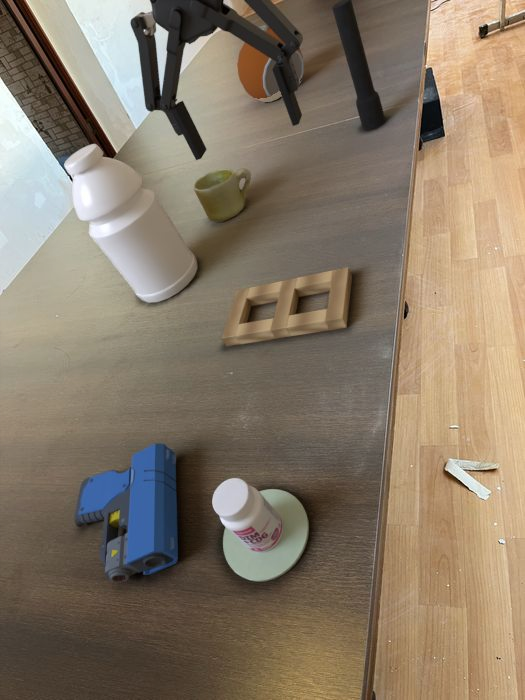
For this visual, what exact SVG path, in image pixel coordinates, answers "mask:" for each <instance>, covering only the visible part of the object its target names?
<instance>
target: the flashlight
mask: <svg viewBox="0 0 525 700" xmlns="http://www.w3.org/2000/svg"><path fill="white" fill-rule="evenodd" d="M331 9H332V13H333V16H334V20H335V23H336V27H337V30H338V34H339V37H340V41H341V44H342V48H343V53H344V55H345V59H346V62H347V65H348V69H349V73H350V76H351V80H352V85H353V88H354V90H355V94H356V101H355V105H356V106H355V107H356V110H357V114H358V117H359V120H360V121H359V122H360V123H361V128H362V130H364V131H372V130H375V129H378V128H380V127H381V126H382V125H384V124H385V121H386V117H385V113H384V108H383V105H382V102H381V101H382V100H381V98H380V95H379V92H377V91H376V90H375V87H374V83H373V80H372V75H371V71H370V67H369V64H368V60H367V56H366V51H365V47H364V45H363V40H362V36H361V32H360V29H359V24H358V21H357V16H356V12H355V9H354V5H353V0H340V1H338V2H336V3H335V4H333V5H332V7H331Z"/></svg>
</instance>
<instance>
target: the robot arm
mask: <svg viewBox="0 0 525 700" xmlns="http://www.w3.org/2000/svg"><path fill="white" fill-rule="evenodd" d="M243 1H244V2H245V3H246V4H247V6H249V8H250V9H251V10H253V12H254V13H255V14H256V15H257V16H258V17H259V18H260V19H261V20H262V21H263V22H264V24H265V25H266V26H267V27H270V29H271V30H272V31H273V32H274V33H275V34H276V35H277V36H278V37H279V38H280V39H281V40H282V41H283V42H284V43H285V44H284V43H282V42H281V41H279V40H277V39H276V38H274V37H273V36H271V35H270V34H268V33H267V32H265V31H263V30H262V29H260V28H259V27H260V26H257V25H256V24H254V23H253V22H251V21H250V20H248V19H246V18H245V17H243V16H242V15H240V13H238V11H236V10H235V9H234V8H232V7H231V6H229V5H227V4H225V2H224V0H149V2H150V5H151V9H152V10H151V11H148V12H144V11H141V12H140V13H138V14H136V15H135V16H134V17H133V18H131V19H130V21H129V22H130V23H129V24H130V27H131V29H132V32H133V34H134V37H135V39H136V42H137V47H138V56H139V65H140V73H141V80H142V89H143V98H144V99H143V100H144V107H145V109H146V110H147V111H148V112H150V113H152V112H154V111H160V112H163V113H164V115H165V116H166V117H167V119H168V121H169V123H170V125H171V127H172V129H173V131H174V133H175V134H176V135H177V136H179V137H180V136H183V137H184V139H185V142H186V143H187V145H188V147H189V149H190V151H191V153H192V155H193V157H194V159H195V161H198V160H201V159H203V156H204V155H205V153H206V151H207V147H206V145H205V143H204V140H203V139H202V137H201V134H200V133H199V131H198V128H197V127H196V124H195V122H194V121H193V119H192V116H191V115H190V112H189V110H188V108H187V105H186V104H185V102H184V100H180V101H178V98H177V97H178V96H177V95H178V89H179V83H180V76H181V70H182V63H183V56H184V51H185V47H186V45H187V44H188V45H191V44H193V43H195V42H196V41H197V40H198V39H199V38H201V37H208V36H210V35H213V34H214V33H215V32H216V31H217V29H218V28H219V29H220V30H222V31H223V32H227V33H229V34H231V35H233V36H234V37H236V38H237V39H239V40H241V41H242V42H243V43H244V42H246V43H247V44H249V45H250V46H252V47H253V48H255V49H257V50H258V51H260V52H261V53H263V54H265V55H266V56H268V57H269V58H271V59H272V60H274V61H276V63H275V65H274V67H273V69H272V70H273V73H274V76H275V78H276V81H277V84H278V87H279V89H280V92H281V95H282V98H281V99H282V100H283V103H284V107H285V109H286V111H287V114H288V117H289V119H290V121H291V122H290V123H291V124H292V127H294V126H297V125H299V124H300V122H301V120H302V116H303V114H302V111H301V107H300V104H299V102H298V99H297V96H296V93H295V92H297V91H298V89H299V87H300V85H299V79H298V76H297V73H296V70H295V67H294V64H293V61H292V54H293V53H294V52H295V51H297V50H298V49H299V48H301V45H302V43H303V40H304V36H303V33H301V32H300V31H299V29H298V28H296V26H295V25H294V23H292V22H291V21H290V20H289V19H288V17H287V16H286V15H285V14H284V13H283V11H281V9H279V8H278V7H277V5H276V4H275V3H274V2H273V1H272V0H243ZM157 25H158V26H159V27H161V28H162V29H163V30H165V31H166V32H168V33H167V41H166V49H165V50H166V56H165V57H166V58H165V65H164V73H163V80H162V86H161V83H160V82H161V81H160V70H159V61H158V51H157V49H158V48H157V41H156V40H157V39H156V35H155V34H156V32H157ZM177 101H178V102H177Z"/></svg>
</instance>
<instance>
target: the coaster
mask: <svg viewBox="0 0 525 700" xmlns="http://www.w3.org/2000/svg"><path fill="white" fill-rule="evenodd" d="M258 491H259V490H258ZM259 492H260V493H261V495H262V496H263V497H264V498H265V499H266V500H267V501H268V503H269V504H270V505H271V506H272V507H273V508H274V509H275V511H276V512H277V513H278V514H279V516H280V517H281V519H282V523H283V533H282V536H281V538H280V540H279V542H278V543H277V544H276V545H275V546H274V547H273V548H272V549H270V550H268V551H265V552H254V551H252V550H250V549H249V548H248V547H246V546H245V545H244V544H243V543H242V542H241V541H240V540H239V539H238V538H237V537H236V536H235V535H234V534H232V533H231V532H230V531H229V530H228V529H227V528H226V527H225V526H224V527H225V528H224V531H223V536H222V547H223V555H224V558H225V560H226V562H227V564H228V566H229V567H230V568H231V569H232V571H233V572H234V573H235V574H236V575H238V576H239V577H240V578H242V579H246V580H247V581H250V582H259V583H261V582H263V583H264V582H269V581H271V580H275V579H277V578H280V577H281V576H283V575H285V574H286V573H287V572H288V571H290V570H291V569H292V568H293V567H294V566H295V565H296V564H297V562H298V561H299V560H300V559H301V557H302V555H303V554H304V552H305V549H306V546H307V545H308V544H307V543H308V540H309V535H310V523H309V518H308V514H307V511H306V509H305V507H304V506H303V504H302V503H301V501H300V500H299V499H298V498H297V497H296V496H295V495H293V494H292V493H290V492H289V491H285V490H283V489H277V488H269V489H264V490H260V491H259Z"/></svg>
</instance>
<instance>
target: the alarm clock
mask: <svg viewBox="0 0 525 700" xmlns="http://www.w3.org/2000/svg"><path fill="white" fill-rule="evenodd" d="M258 27H259V28H260V29H262V30H263V31H265V32H267V33H268V34H270V35H271V36H273V37H274V38H276V39H277V40H279V41H281V42H282V43H284V42H283V41H282V40H281V39H280V38H279V37H278V36H277V35H276V34H275V33H274V32H273V31H272V30H271V29H270V27H269V26H267V25H266V24H265V25H264V24H263V25H261V26H258ZM284 44H285V43H284ZM238 52H239V53H238V58H237V63H236V64H237V65H236V66H237V74H238V78H239V81H240V84H241V85H242V87H243V88H244V91H245V92H246V93H247V94H248V95H249V96H250V97H251V98H253V99H255V98H257V99H260V98H267V97H271V96H272V95H273V94H275V93H277V92H278V91H280V89H279V87H278V84H277V81H276V78H275V76H274V73H273V70H272V69H273V67H274V65H275V63H276V61H274V60H272V59H271V58H269V57H268V56H266V55H265V54H263V53H261V52H260V51H258V50H257V49H255V48H253V47H252V46H250V45H249V44H247V43H246V42H244V41H243V44H242V46H241V47H240V50H239V51H238ZM292 61H293V64H294V67H295V70H296V73H297V76H298V79H300V78H302V79H303V77H304V72H305V69H304V68H305V65H304V64H305V63H304V56H303V53H302V50H301V47H299V49H298V50H297V51H295V52H294V53H293V54H292ZM301 83H302V80H301V81H300V82H299V86H300V84H301Z"/></svg>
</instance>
